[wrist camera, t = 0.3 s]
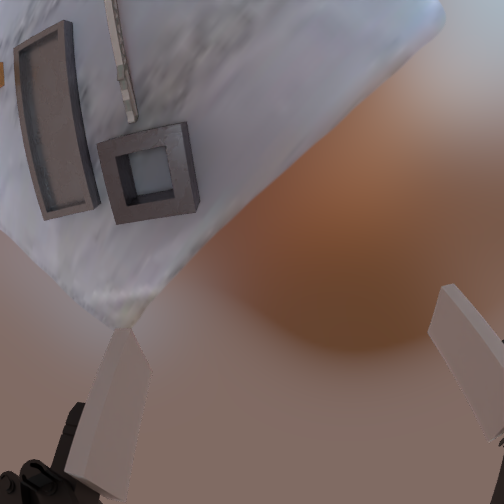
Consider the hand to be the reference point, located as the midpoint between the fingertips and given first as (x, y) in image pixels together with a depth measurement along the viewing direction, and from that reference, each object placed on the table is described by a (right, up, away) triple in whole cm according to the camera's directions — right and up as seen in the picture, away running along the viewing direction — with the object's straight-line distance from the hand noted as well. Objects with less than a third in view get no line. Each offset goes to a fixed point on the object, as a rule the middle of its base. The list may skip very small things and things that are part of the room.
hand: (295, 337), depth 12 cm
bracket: (-17, +29, +15) cm, 37 cm away
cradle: (-28, +21, +18) cm, 39 cm away
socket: (-14, +13, +23) cm, 30 cm away
